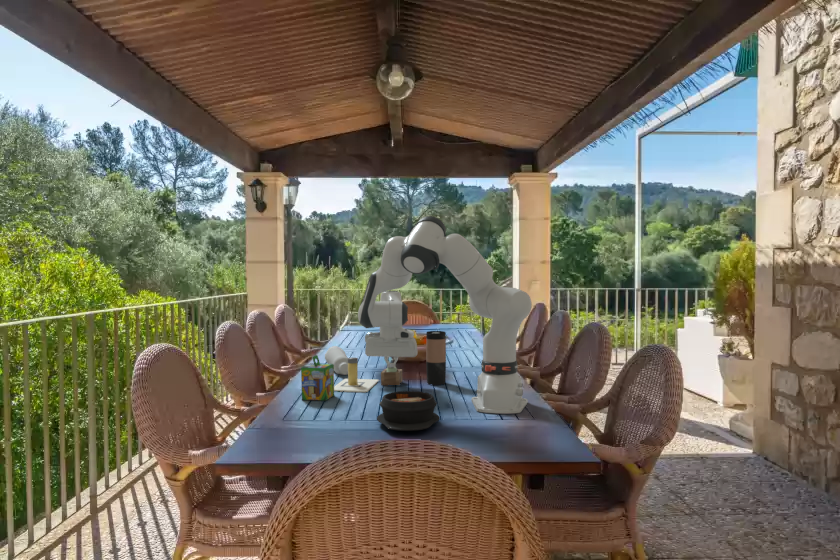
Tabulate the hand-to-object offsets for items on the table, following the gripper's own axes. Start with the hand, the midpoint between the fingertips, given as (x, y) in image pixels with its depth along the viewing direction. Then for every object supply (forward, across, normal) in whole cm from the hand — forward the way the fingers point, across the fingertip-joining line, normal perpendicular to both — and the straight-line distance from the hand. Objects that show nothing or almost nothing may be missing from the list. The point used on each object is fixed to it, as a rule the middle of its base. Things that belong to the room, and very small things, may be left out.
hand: (391, 368), depth 231 cm
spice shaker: (+6, -14, -6) cm, 16 cm away
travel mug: (+6, +17, +3) cm, 18 cm away
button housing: (+6, 0, 0) cm, 6 cm away
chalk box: (+6, -21, -26) cm, 34 cm away
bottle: (+6, -28, +22) cm, 36 cm away
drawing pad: (+6, -13, -6) cm, 15 cm away
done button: (+6, 0, 0) cm, 6 cm away
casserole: (+7, +16, -54) cm, 57 cm away
